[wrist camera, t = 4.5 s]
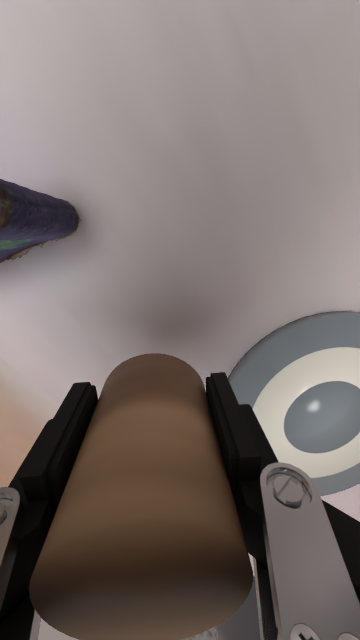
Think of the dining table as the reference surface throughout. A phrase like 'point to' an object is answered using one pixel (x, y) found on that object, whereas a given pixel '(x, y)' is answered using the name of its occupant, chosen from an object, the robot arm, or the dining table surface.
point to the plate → (308, 396)
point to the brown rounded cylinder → (145, 516)
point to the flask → (31, 220)
